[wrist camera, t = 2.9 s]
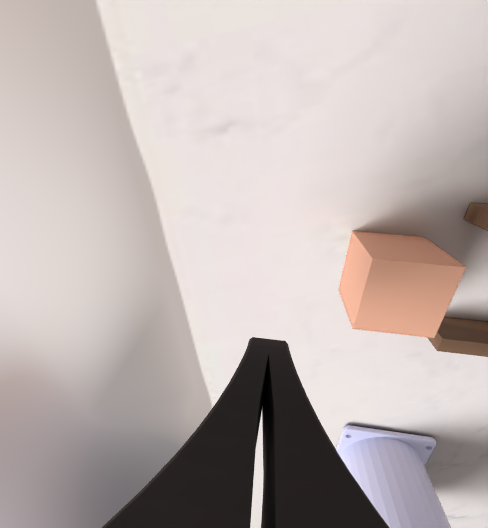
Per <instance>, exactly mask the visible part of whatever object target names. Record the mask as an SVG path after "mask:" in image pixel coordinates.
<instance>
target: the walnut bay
mask: <svg viewBox="0 0 488 528" xmlns="http://www.w3.org/2000/svg"><path fill="white" fill-rule="evenodd" d="M464 220H466V221H468V222H470V223H472V224H474V225H476V226H479V227H481V228H483V229H485V230H487V231H488V204H480V203H470V205H469V208H468V210H467V213H466V215H465V217H464ZM427 338H428V339H429V340H430V342H431V343H432V344H433V346H434V347H435V349H436V350H437V351H443V352H451V353H460V354H468V355H477V356H485V357H488V322H484V321H475V320H466V319H457V318H447V317H444V318H443V320H442V322H441V324H440V327H439V329H438V331H437V333H436V335H435V338H429V337H427Z"/></svg>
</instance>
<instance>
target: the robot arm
mask: <svg viewBox="0 0 488 528" xmlns="http://www.w3.org/2000/svg"><path fill="white" fill-rule="evenodd" d="M261 411H262V415H263V467H264V481H263V505H262V523H261V528H451V526H450V524H449V522H448V519H447V517H446V515H445V512H444V510H443V508H442V506H441V503H440V501H439V499H438V496H437V494H436V492H435V489H434V487H433V485H432V482H431V480H430V478H429V475H428V473H427V471H426V469H425V466H424V465H425V464H426V462H427V460H428V458H429V457H430V455H431V453H432V452H433V450H434V448H435V447H436V445H437V443H436V441H435V439H434V438H432V437H427V436H420V435H413V434H406V433H399V432H392V431H385V430H378V429H371V428H364V427H357V426H350V425H347V426H345V427H344V428H343V431H342V434H341V437H340V440H339V443H338V446H337V449H335V447H334V446H333V444H332V442H331V441H330V439H329V437H328V435H327V434H326V432H325V430H324V428H323V427H322V425H321V423H320V421H319V419H318V417H317V415H316V413H315V411H314V409H313V407H312V405H311V403H310V401H309V399H308V397H307V395H306V393H305V390H304V388H303V386H302V384H301V381H300V379H299V377H298V374H297V372H296V369H295V366H294V364H293V361H292V358H291V354H290V351H289V347H288V344H287V343H286V341H280V340H271V339H263V338H255V337H252V338H251V339H250V340H249V343H248V346H247V349H246V352H245V354H244V356H243V358H242V360H241V362H240V364H239V366H238V368H237V370H236V372H235V373H234V375H233V377H232V379H231V381H230V382H229V384H228V386H227V387H226V389H225V390H224V392H223V393H222V395H221V396H220V398H219V400H218V401H217V403H216V404H215V405H214V407H213V408H212V410H211V411H210V412H209V414H208V415H207V417H206V418H205V419H204V421H203V422H202V423H201V424H200V426H199V427H198V428H197V430H196V431H195V432H194V433H193V434H192V436H191V437H190V438H189V439H188V441H187V442H186V443H185V444H184V445H183V446H182V448H181V449H180V450H179V451H178V452H177V453H176V454H175V456H174V457H173V458H172V459H171V460H170V461H169V462H168V463H167V464H166V465H165V466H164V467H163V468H162V469H161V471H160V472H159V473H158V474H157V475H156V476H155V477H154V478H153V479H152V480H151V481H150V482H149V483H148V484H147V485H146V486H145V487H144V488H143V489H142V490H141V491H140V492H139V493H138V494H137V495H136V496H135V497H134V498H133V499H132V500H131V501H130V502H129V503H128V504H127V505H126V506H125V507H123V508H122V509H121V510H120V511H119V512H118V513H117V514H116V515H115V516H114V517H113V518H112V519H111V520H110V521H108V522H107V524H105V525H104V526H103V527H102V528H250V521H251V506H252V491H253V476H254V462H255V448H256V442H257V436H258V430H259V423H260V417H261Z"/></svg>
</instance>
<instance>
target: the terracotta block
mask: <svg viewBox="0 0 488 528" xmlns="http://www.w3.org/2000/svg"><path fill="white" fill-rule="evenodd" d="M465 269H466V267H465V266H464V265H462V264H461V263H460V262H458V261H457V260H456V259H454V258H453V257H451V256H450V255H449V254H447V253H446V252H444V251H443V250H442V249H440V248H439V247H438V246H436V245H435V244H433V243H432V242H431V241H429V240H428V239H426V238H425V237H419V236H407V235H395V234H383V233H371V232H359V231H352V234H351V238H350V243H349V247H348V251H347V255H346V260H345V264H344V268H343V272H342V277H341V281H340V285H339V293H340V295H341V298H342V301H343V303H344V306H345V309H346V312H347V314H348V317H349V320H350V322H351V325H352V328H353V329H358V330H367V331H376V332H385V333H394V334H402V335H411V336H420V337H429V338H435V335H436V333H437V331H438V329H439V327H440V324H441V322H442V320H443V318H444V316H445V313H446V311H447V309H448V307H449V305H450V302H451V300H452V298H453V296H454V294H455V291H456V289H457V287H458V285H459V283H460V280H461V278H462V276H463V274H464V272H465Z"/></svg>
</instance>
